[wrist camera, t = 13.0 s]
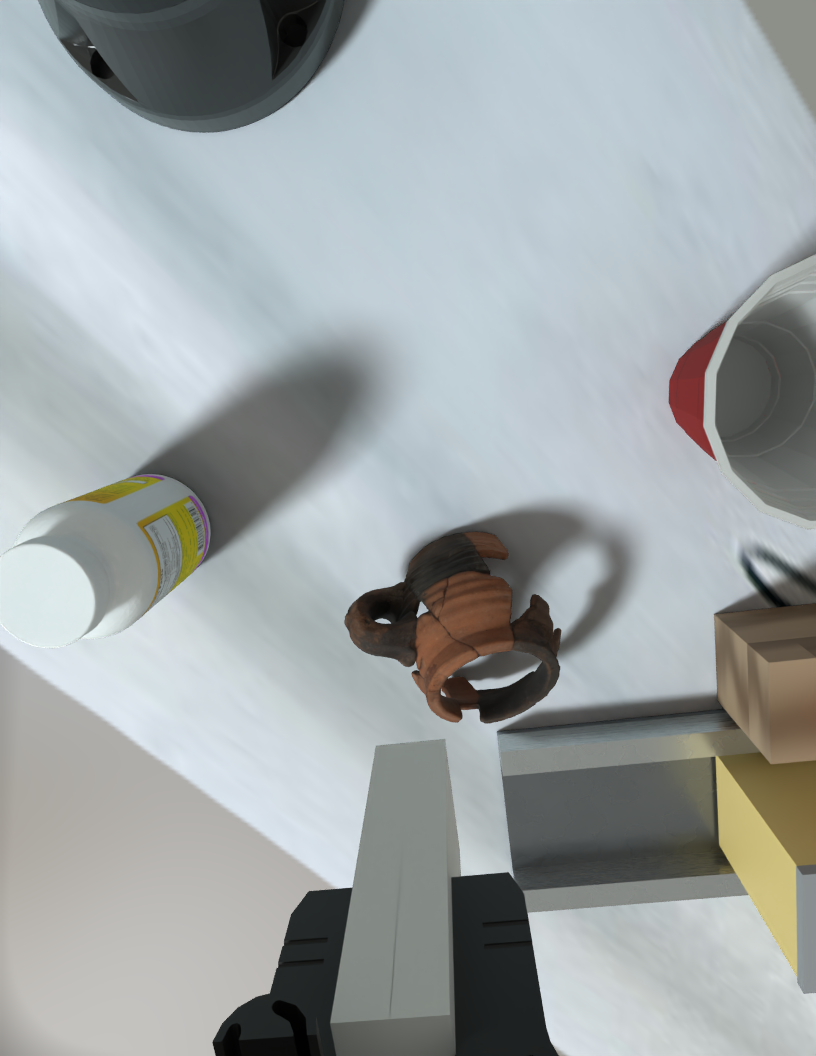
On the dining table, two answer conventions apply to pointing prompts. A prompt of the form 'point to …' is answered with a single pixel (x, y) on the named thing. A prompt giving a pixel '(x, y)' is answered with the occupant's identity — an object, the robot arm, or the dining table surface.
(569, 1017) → the dining table surface
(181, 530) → the supplement bottle
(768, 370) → the plastic cup
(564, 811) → the track
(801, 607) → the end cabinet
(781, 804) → the carriage
